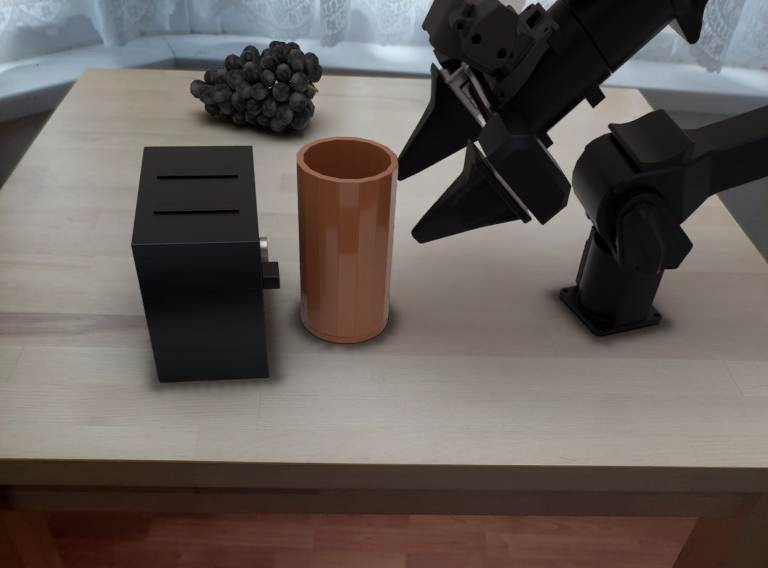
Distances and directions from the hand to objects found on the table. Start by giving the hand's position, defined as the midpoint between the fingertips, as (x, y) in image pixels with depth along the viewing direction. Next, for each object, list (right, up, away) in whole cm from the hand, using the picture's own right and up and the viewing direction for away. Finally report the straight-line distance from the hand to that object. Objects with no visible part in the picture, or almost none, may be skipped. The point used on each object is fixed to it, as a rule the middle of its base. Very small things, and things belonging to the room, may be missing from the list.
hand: (404, 205), depth 57 cm
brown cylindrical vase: (-5, -6, +7) cm, 11 cm away
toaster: (-15, -7, +5) cm, 17 cm away
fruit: (-16, +21, +31) cm, 41 cm away
